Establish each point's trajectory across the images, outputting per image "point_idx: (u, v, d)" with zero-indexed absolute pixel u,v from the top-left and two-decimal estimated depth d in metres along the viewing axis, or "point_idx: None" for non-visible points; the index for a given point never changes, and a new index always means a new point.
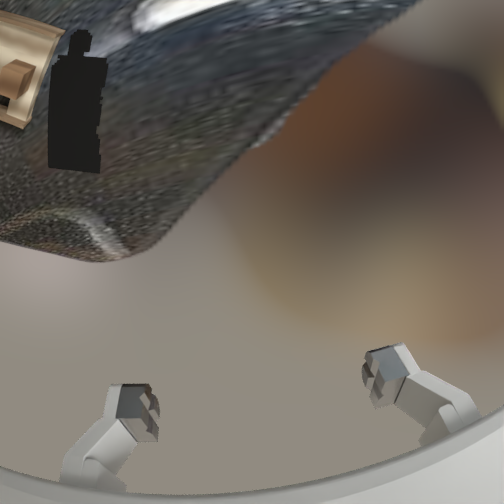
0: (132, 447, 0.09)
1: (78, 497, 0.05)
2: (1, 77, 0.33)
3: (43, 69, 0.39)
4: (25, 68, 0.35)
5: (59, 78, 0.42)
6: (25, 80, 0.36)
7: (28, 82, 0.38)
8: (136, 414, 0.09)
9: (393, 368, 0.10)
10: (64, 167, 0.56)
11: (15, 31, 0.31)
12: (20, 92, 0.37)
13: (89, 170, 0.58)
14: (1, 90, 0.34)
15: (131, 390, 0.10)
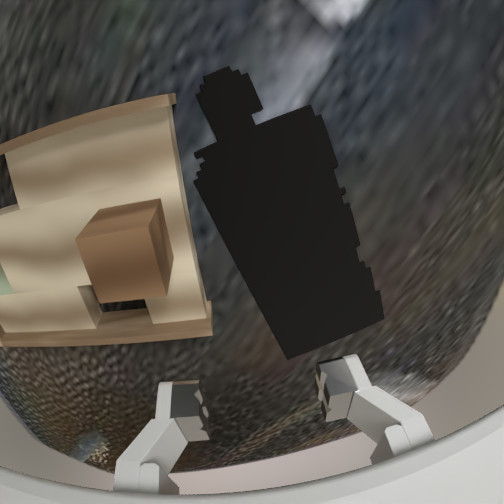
0: (183, 447, 0.09)
1: (78, 497, 0.05)
2: (90, 263, 0.18)
3: (182, 197, 0.23)
4: (138, 213, 0.20)
5: (229, 198, 0.25)
6: (159, 239, 0.20)
7: (166, 241, 0.22)
8: (192, 412, 0.09)
9: (341, 382, 0.09)
10: (318, 345, 0.35)
11: (57, 154, 0.19)
12: (165, 272, 0.21)
13: (366, 324, 0.34)
14: (112, 292, 0.20)
15: (184, 387, 0.10)
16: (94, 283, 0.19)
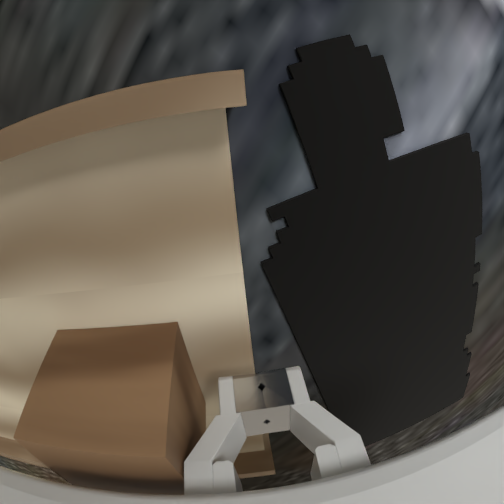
0: (243, 442, 0.09)
1: (78, 497, 0.05)
2: (56, 467, 0.07)
3: None
4: (134, 378, 0.08)
5: (322, 292, 0.14)
6: (185, 427, 0.09)
7: (194, 398, 0.11)
8: (259, 405, 0.09)
9: (278, 394, 0.09)
10: (387, 435, 0.23)
11: None
12: None
13: (443, 407, 0.23)
14: None
15: (246, 381, 0.10)
16: (72, 482, 0.08)
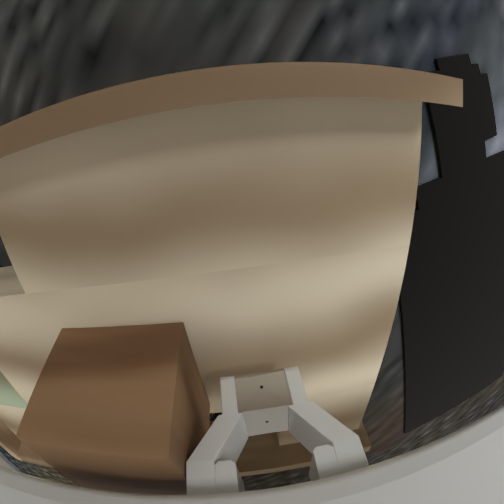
0: (245, 442, 0.09)
1: (78, 497, 0.05)
2: (59, 466, 0.07)
3: None
4: (139, 378, 0.08)
5: (431, 269, 0.14)
6: (189, 428, 0.09)
7: (199, 399, 0.11)
8: (261, 404, 0.09)
9: (277, 395, 0.09)
10: (439, 414, 0.24)
11: (121, 175, 0.08)
12: None
13: (486, 384, 0.23)
14: None
15: (248, 380, 0.10)
16: (74, 480, 0.08)
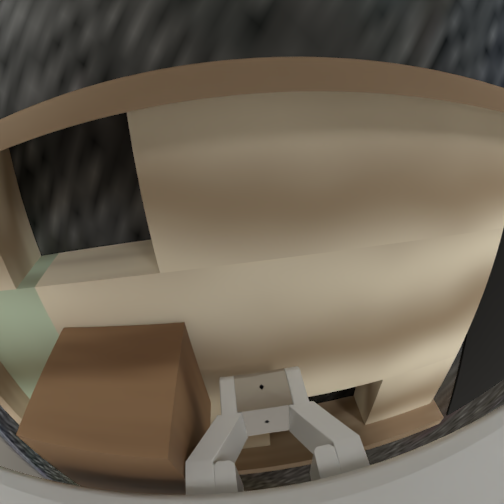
0: (244, 442, 0.09)
1: (78, 497, 0.05)
2: (59, 464, 0.07)
3: None
4: (139, 378, 0.08)
5: (497, 253, 0.14)
6: (189, 428, 0.09)
7: (199, 399, 0.11)
8: (260, 405, 0.09)
9: (277, 395, 0.09)
10: (477, 395, 0.24)
11: (323, 145, 0.08)
12: None
13: None
14: None
15: (247, 381, 0.10)
16: (74, 479, 0.08)
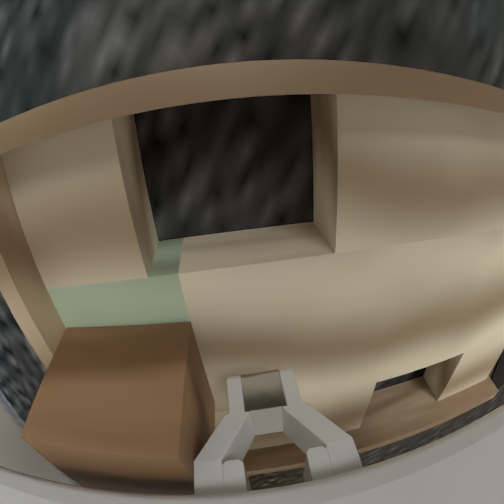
0: (251, 441, 0.09)
1: (78, 497, 0.05)
2: (64, 466, 0.07)
3: None
4: (147, 378, 0.08)
5: None
6: (196, 428, 0.09)
7: (205, 399, 0.11)
8: (267, 403, 0.09)
9: (271, 396, 0.09)
10: None
11: (467, 149, 0.09)
12: None
13: None
14: None
15: (254, 380, 0.10)
16: (79, 481, 0.08)
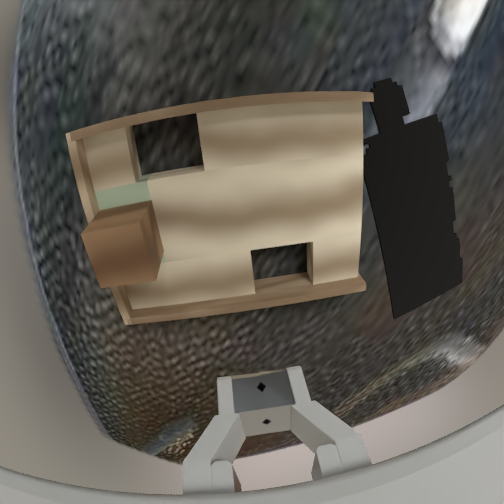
0: (242, 442, 0.09)
1: (78, 497, 0.05)
2: (93, 254, 0.23)
3: None
4: (133, 212, 0.24)
5: (382, 178, 0.30)
6: (149, 234, 0.24)
7: (156, 236, 0.27)
8: (257, 405, 0.09)
9: (279, 395, 0.09)
10: (417, 305, 0.39)
11: (262, 122, 0.24)
12: (155, 261, 0.25)
13: (450, 286, 0.39)
14: (111, 278, 0.24)
15: (245, 381, 0.10)
16: (96, 270, 0.23)
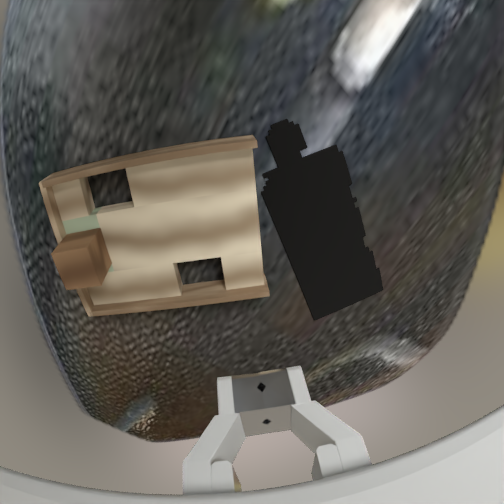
0: (242, 442, 0.09)
1: (78, 497, 0.05)
2: (60, 267, 0.31)
3: None
4: (85, 238, 0.33)
5: (283, 204, 0.39)
6: (96, 253, 0.33)
7: (104, 253, 0.35)
8: (258, 405, 0.09)
9: (279, 394, 0.09)
10: (336, 309, 0.48)
11: (171, 170, 0.33)
12: (101, 272, 0.34)
13: (370, 293, 0.48)
14: (72, 283, 0.32)
15: (245, 381, 0.10)
16: (62, 278, 0.32)
